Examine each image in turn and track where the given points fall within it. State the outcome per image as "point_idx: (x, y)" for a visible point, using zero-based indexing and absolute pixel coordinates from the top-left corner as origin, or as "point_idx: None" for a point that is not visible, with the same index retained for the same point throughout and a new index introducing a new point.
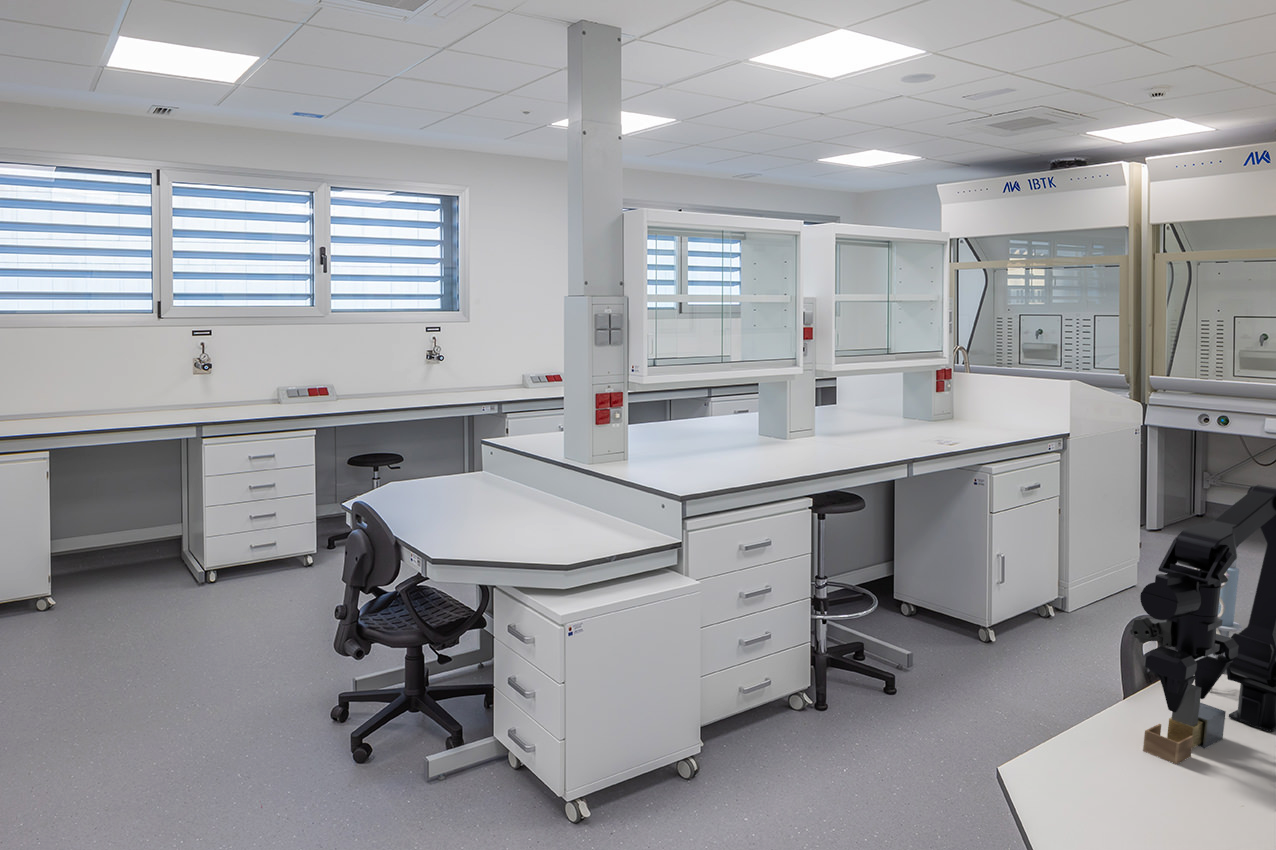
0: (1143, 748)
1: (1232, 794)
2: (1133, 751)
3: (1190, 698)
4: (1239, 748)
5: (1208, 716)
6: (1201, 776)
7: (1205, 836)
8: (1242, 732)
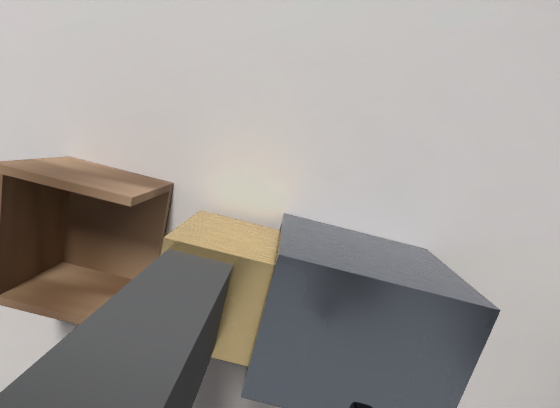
0: (62, 157)
1: None
2: (37, 130)
3: None
4: None
5: (296, 395)
6: (44, 329)
7: None
8: (503, 385)
